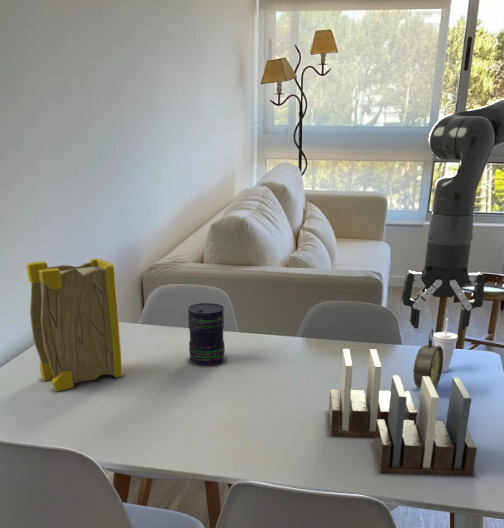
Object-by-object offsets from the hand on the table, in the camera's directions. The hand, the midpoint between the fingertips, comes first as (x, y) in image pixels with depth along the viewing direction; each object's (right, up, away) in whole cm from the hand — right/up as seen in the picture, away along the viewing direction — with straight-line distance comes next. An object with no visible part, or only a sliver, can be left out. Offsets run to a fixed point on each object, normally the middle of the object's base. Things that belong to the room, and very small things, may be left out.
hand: (438, 328), depth 132 cm
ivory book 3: (0, -24, +12) cm, 27 cm away
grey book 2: (+6, -24, +11) cm, 27 cm away
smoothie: (+16, -3, +59) cm, 61 cm away
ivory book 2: (-8, -17, +26) cm, 32 cm away
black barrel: (-47, +1, +65) cm, 81 cm away
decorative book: (-79, -5, +52) cm, 95 cm away
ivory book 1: (-14, -17, +27) cm, 35 cm away
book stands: (-4, -21, +19) cm, 29 cm away
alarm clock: (+8, -9, +45) cm, 47 cm away
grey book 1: (-6, -24, +12) cm, 27 cm away
